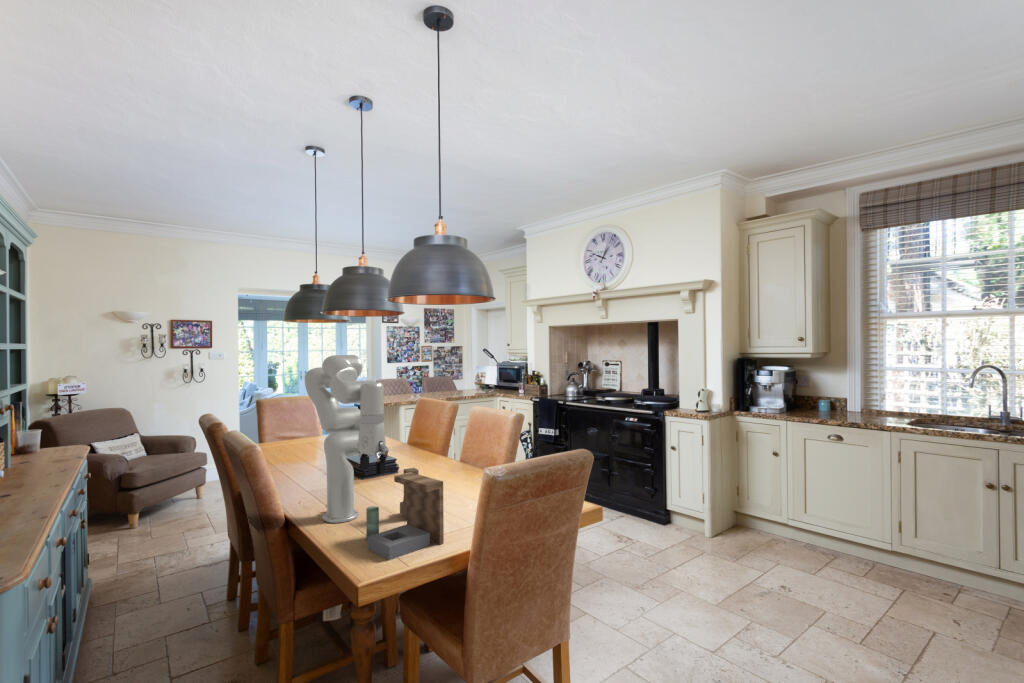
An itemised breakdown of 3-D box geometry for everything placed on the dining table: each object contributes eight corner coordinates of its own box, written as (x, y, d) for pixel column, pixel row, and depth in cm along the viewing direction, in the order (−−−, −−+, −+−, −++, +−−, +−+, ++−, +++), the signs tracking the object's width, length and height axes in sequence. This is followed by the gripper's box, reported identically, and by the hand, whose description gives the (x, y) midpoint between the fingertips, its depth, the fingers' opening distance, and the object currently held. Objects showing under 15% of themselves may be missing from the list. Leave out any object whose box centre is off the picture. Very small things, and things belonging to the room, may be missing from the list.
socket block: (367, 549, 160) (367, 536, 160) (407, 535, 170) (407, 524, 170) (389, 560, 151) (389, 546, 151) (429, 545, 162) (429, 532, 162)
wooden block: (399, 513, 193) (399, 466, 193) (410, 511, 195) (410, 465, 195) (407, 520, 185) (407, 471, 185) (419, 518, 187) (418, 469, 188)
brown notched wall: (394, 535, 171) (394, 475, 172) (410, 529, 176) (410, 472, 176) (427, 549, 159) (427, 485, 159) (443, 543, 164) (443, 481, 164)
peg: (364, 538, 169) (364, 508, 169) (374, 535, 172) (374, 505, 172) (370, 541, 166) (370, 510, 166) (381, 538, 169) (381, 508, 169)
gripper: (348, 418, 172) (348, 469, 172) (376, 423, 160) (377, 477, 160) (368, 416, 178) (368, 465, 177) (396, 420, 166) (397, 473, 166)
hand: (372, 471), depth 169 cm, fingers open, 9 cm apart
